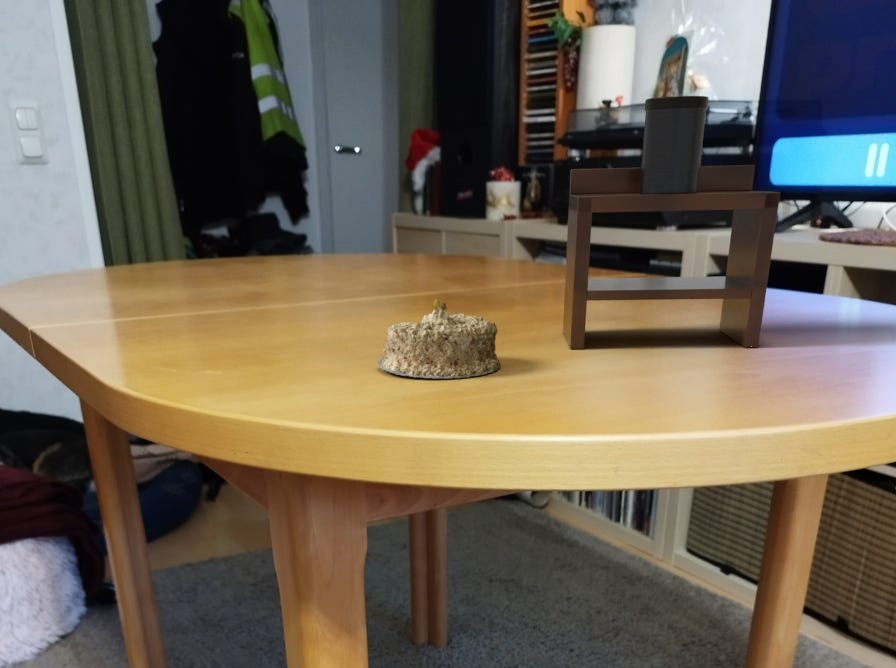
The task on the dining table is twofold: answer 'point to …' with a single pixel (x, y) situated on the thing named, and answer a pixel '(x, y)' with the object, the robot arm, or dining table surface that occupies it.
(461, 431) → the dining table surface
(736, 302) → the spice rack
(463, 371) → the cake
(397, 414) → the dining table surface
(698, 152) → the spice tin
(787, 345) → the dining table surface
